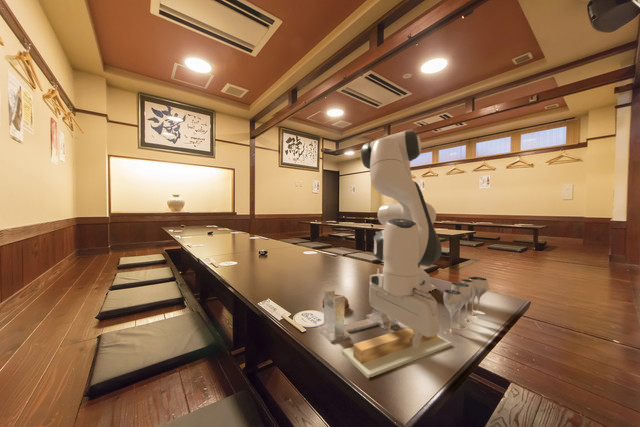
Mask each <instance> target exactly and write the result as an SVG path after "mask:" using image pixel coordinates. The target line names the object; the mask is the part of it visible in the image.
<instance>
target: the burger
mask: <svg viewBox="0 0 640 427" xmlns="http://www.w3.org/2000/svg"><path fill="white" fill-rule="evenodd" d="M336 296H341V295H340V294H335V297H336ZM322 308H323V309H324V298H323V300H322ZM349 309H350V303H349V300H348V298H347V297H346V296H345V305H344V315H345V314H347V312H349Z"/></svg>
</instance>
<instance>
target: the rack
mask: <svg viewBox="0 0 640 427" xmlns="http://www.w3.org/2000/svg"><path fill="white" fill-rule="evenodd" d="M335 292H336V290H335V289H329V290H324V291H323V293H324V295H323V299H324V308H323V324H322V325H319V326H317V331H318V332H319V333H321V335H322V336H324V337H325V339H327V341H328V342H329V343H331V344H334V343H337V342H341V341H344V340H348V339H351V333H354V332H357V331H360V330H364V329H369V328H372V327H376V326H379V327H380V328H381V329H384V328H382V321H381V318H380V315H379V311H378V310H377V309H375V308H373V307H371V313H369V314H366V319H362V320H358V321H354V322H348V323H345V314H344V305H345V297H346V296H345V295H341V296H336V297H335V295H336V294H335ZM387 317H388V321H389V322H390V323H391V325H390V326H391V327H394V326H398V325H399V322H398V321H397V320H395V319H393V318H391V317H389V316H388V315H387ZM384 330H385V329H384Z"/></svg>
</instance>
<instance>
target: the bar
mask: <svg viewBox="0 0 640 427" xmlns="http://www.w3.org/2000/svg"><path fill="white" fill-rule="evenodd" d="M437 335H438V333H437V334H435V335H433V336H430V337H426V336H424V335H423V336H422V338H421V339H420V341H419V343H422V342H425V341H428V340H431V339H433V338H436V337H437ZM414 336H415V334H413V329H411V328H409V327H406V328H402V329H398V330H397V331H393V332H389V333H385V334H383V335H380V336H376V337H373V338H370V339H366V340H365V339H364V340H362V341H359V342H356V343H353V346H352V347H353V357H354V358H355V359H356V360H357V361H359V362H360V363H361V364H362V363H365V362H368V361H371V360H374V359H377V358H379V357H382V356H385V355H388V354H391V353H394V352H396V351H399V350H402V349H405V348H408V347H411V345H410V344H409V343H410V341H409V339H410V338H413V337H414Z"/></svg>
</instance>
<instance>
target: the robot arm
mask: <svg viewBox="0 0 640 427" xmlns="http://www.w3.org/2000/svg"><path fill="white" fill-rule="evenodd" d="M421 150H422V140H421V138H420V136H419V135H418V134H417V132H415V131H414V130H412V131H411V130H409V131H404V132H400V133H399V132H398V133H394V134H390V135H387V136H383V137H380V138H377V139H374V140H373V141H371V140H370V141H368V142H366V143H364V144H363V145H362V147H361V148H360V161H361V163H362V164H363V166H364V168H366V169H368V170H370V171H369V173H370V174H369V175H370V181H371V185H372V187H373V188H374V189H375V191H377V192H378V193H380V194H381V195H383V196H385V197H388V198H391V199H393V200H395V201H397V202H398V203H397V202H396V203H394V202H393V203H392V202H391V203H386V204H382V205H381V206H380V207H379V209H378V211H377V219H378V222H379V223H380V224H381V225H382V226H383V227H384V229H382V230H380V231H378V232H377V233H376V234H375V235H374V236H373V250H372V251H373V256H374V257H375V258H376V260H379V261H380V262H383V263H384V264H383V267H382V272H380V273H379V274H377V273H375V274H370V275H369V277H368V279H369V290H368V302H369V305H370V307H371V308H372V307H373V308H375V309H377V310H378V311H379V315H380V318H381V321H382V328H381V329H383V328H384V330H385V331H388V330H391V328H392V326H390V325H391V323H390V322H389V321H388V317H387V315H388V316H389V317H391V318H393V319H395V320H396V321H398V323H400V324H401V325H404V326H406V328H411V329H413V334H415V336H414V337H413V338H410V339H409V341H410V343H409V344H410V345H411V346H412V347H414V348H417V347H419V341H420V339H421V338H422V336H423V335H424V336H426V337H430V336H433V335H435V334H437V335H438V333H439V331H440V322H439V310H438V301H437V300H436V299H435V297H434V296H432V294H431V293H430V292H429V291H431V292H433V291H435V290H434V289H436V290H437V286H435V285H433V284H431V276H430V274H429V273H427V272H426V271H425V270H424V269H423V268H422V267H421V266H428V267H430V266H432V265H433V264H434V263H436V261H438V260H439V259H440V258H441V256H442V252H443V251H442V250H443V248H442V243H441V240H440V238H439V235H438V233H437V232H436V229H435V227H434V223H435V222H436V219H437V212H436V210H435V208H434V206H432V205H431V204H429V202H426V201H425V198H424V195H423V193H422V190H421V188H420V185H419V184H418V183H417V182H416V181H415V180H413V176H412V170H411V166H410V162H412V161H414V160H416V159H417V158H418V157H420V156H421ZM370 283H371V284H370ZM432 290H433V291H432ZM427 292H428V293H427Z"/></svg>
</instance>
